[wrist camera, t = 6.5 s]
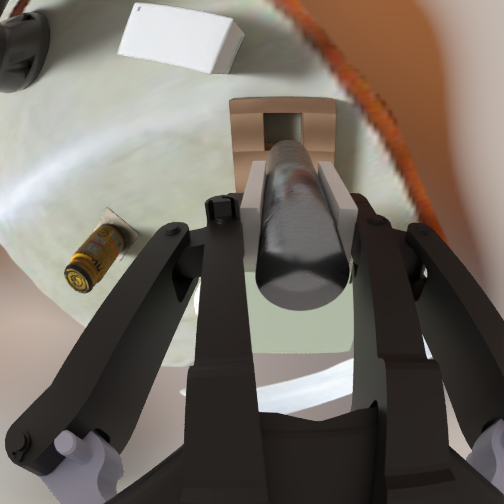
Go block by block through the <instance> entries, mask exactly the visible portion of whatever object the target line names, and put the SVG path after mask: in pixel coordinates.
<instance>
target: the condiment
mask: <svg viewBox="0 0 504 504" xmlns="http://www.w3.org/2000/svg"><path fill="white" fill-rule="evenodd" d="M111 222H113V223H111ZM110 223H111V224H110ZM138 236H139V234H138V233H136V232H135V230H133V229H132V228H131V227H130V226H129V225H128V224H126V223H125V222H124V221H123V220H122V219H121V218H119V217H118V216H117V215H115V214H114V213H113V212H112V211H111V210H109V209H108V208H106V210H105V212H104V213H103V215H102V217H101V218H100V220H99V222H98V224H97V226H96V227H95V229H94V231H93V233H92V234H91V235H90V237H89V238H88V239H87V240H86V241H85V242H84V244H82V246H81V247H80V248H79V249H78V250H77V251H76V252H75V254H74V255H73V257H72V259H71V262H70V263H69V265H68V266H67V267H66V269H65V272H64V275H65V279H66V281H67V283H68V284H69V285H70V286H71V287H72V288H73V289H74V290H75V291H78V292H80V293H88V292H90V291H91V290H92V288H93V287H94V286H95V284H96V283H98V282H100V281H101V279H102V278H103V277H104V275H105V274H106V272H107V271H108V269H109V268H110V266H111V265H112V264H113V262H114V261H115V260H117V261H118V262H119V261H120V260H121V258H122V257H123V256H124V254H125V253H126V252H127V250H128V249H129V248H130V246H131V245H132V244H133V242H134V241H135V240H136V238H137V237H138Z"/></svg>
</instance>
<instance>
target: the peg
mask: <svg viewBox="0 0 504 504" xmlns="http://www.w3.org/2000/svg"><path fill="white" fill-rule="evenodd" d="M349 276H350V267H349V263H348V260H347V257H346V253H345V250H344V247H343V244H342V241H341V238H340V235H339V232H338V229H337V226H336V224H335V221H334V218H333V215H332V212H331V209H330V207H329V204H328V201H327V199H326V196H325V193H324V191H323V188H322V185H321V183H320V180H319V178H318V175H317V173H316V170H315V168H314V165H313V163H312V160H311V158H310V155H309V153H308V151H307V149H306V148H305V147H304V146H303V145H302V144H301V143H299V142H297V141H294V140H283V141H280V142H278V143H277V144H275V145H274V146H273V147H272V148H271V150H270V152H269V155H268V164H267V173H266V184H265V193H264V202H263V212H262V221H261V230H260V236H259V245H258V254H257V263H256V272H255V279H256V284H257V287H258V289H259V291H260V292H261V294H262V295H263V296H264V297H265V298H266V299H267V300H268V301H269V302H271V303H272V304H274V305H276V306H278V307H281V308H283V309H287V310H293V311H307V310H313V309H317V308H320V307H323V306H325V305H327V304H329V303H330V302H332V301H333V300H335V299H336V298H337V297H338V296H339V295H340V294H341V293H342V292H343V291H344V289H345V287H346V285H347V283H348V280H349Z"/></svg>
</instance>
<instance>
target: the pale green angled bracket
mask: <svg viewBox="0 0 504 504" xmlns="http://www.w3.org/2000/svg"><path fill="white" fill-rule="evenodd" d="M243 262H244V259H243ZM352 266H353V263H350V264H349V267H350V276H351V271H352ZM244 272H245V283H246V294H247V304H248V314H249V325H250V335H251V345H252V353H331V352H349V350H350V348H351V345H352V342H353V339H354V309H353V284H352V283H351V284H349V281H350V276H349V280H348V283H347V285H346V287H345V289H344V291H343V292H342V293H341V294H340V295H339V296H338V297H337V298H336V299H335V300H333V301H332V302H330V303H329V304H327V305H325V306H323V307H320V308H317V309H313V310H307V311H293V310H287V309H283V308H281V307H278V306H276V305H274V304H272V303H271V302H269V301H268V300H267V299H266V298H265V297H264V296H263V295H262V294H261V292H260V291H259V289H258V287H257V284H256V279H255V272H256V265H252V264H244Z"/></svg>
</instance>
